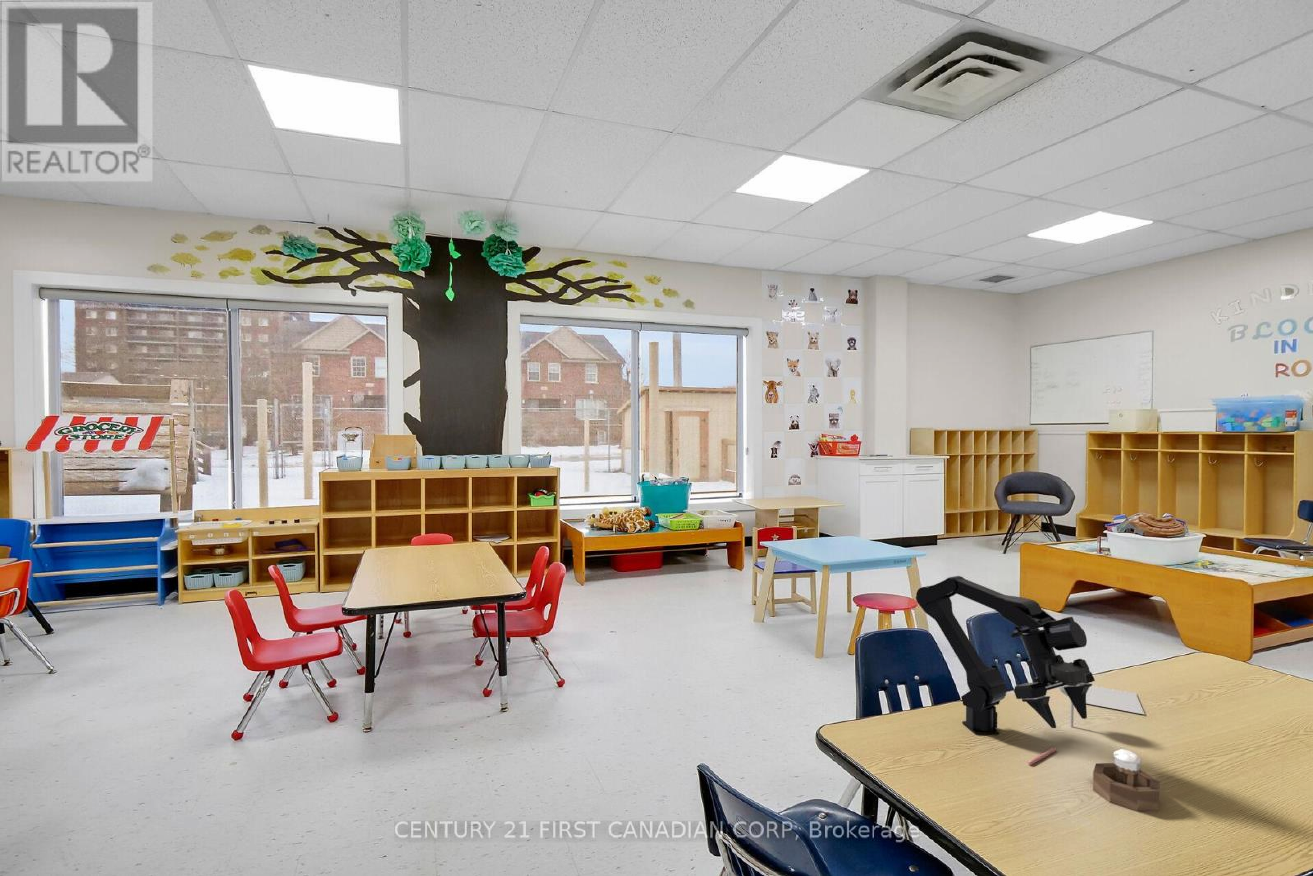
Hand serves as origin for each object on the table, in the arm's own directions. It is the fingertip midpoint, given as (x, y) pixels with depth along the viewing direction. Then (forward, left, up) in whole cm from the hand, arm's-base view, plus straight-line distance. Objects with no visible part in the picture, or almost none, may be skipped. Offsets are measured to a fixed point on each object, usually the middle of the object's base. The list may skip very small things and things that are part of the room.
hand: (1069, 723), depth 146 cm
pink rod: (-4, +4, -10) cm, 11 cm away
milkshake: (+3, -12, -10) cm, 16 cm away
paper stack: (+41, +29, -10) cm, 51 cm away
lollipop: (+15, +19, -10) cm, 26 cm away
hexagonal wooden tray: (+3, -12, -10) cm, 16 cm away
